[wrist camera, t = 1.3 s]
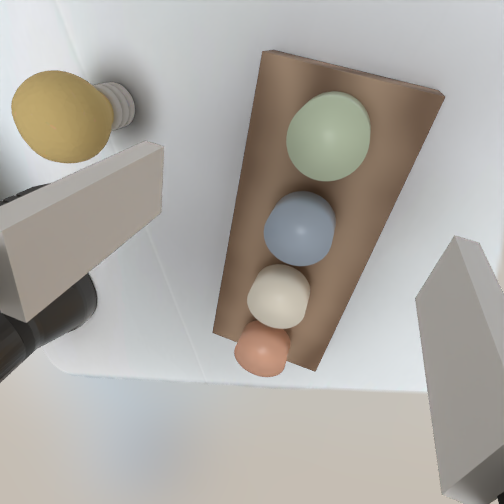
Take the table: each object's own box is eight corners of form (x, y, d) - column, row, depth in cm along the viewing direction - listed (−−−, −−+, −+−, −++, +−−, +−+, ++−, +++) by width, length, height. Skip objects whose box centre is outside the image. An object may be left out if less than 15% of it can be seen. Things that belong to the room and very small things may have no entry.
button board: (222, 315, 42) (212, 332, 39) (273, 49, 26) (262, 51, 23) (319, 351, 40) (315, 371, 37) (438, 90, 24) (445, 96, 21)
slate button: (266, 237, 29) (257, 253, 27) (280, 182, 26) (271, 195, 24) (324, 256, 28) (320, 274, 26) (345, 202, 25) (342, 217, 23)
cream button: (251, 298, 33) (242, 316, 31) (261, 256, 30) (253, 273, 28) (301, 316, 32) (296, 336, 30) (317, 275, 29) (312, 294, 27)
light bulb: (77, 77, 31) (-28, 92, 23) (132, 53, 29) (35, 60, 21) (110, 146, 34) (27, 182, 26) (163, 130, 32) (88, 163, 23)
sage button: (286, 157, 25) (278, 168, 23) (305, 82, 22) (298, 87, 20) (354, 177, 24) (352, 190, 22) (383, 102, 21) (383, 109, 19)
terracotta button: (239, 346, 37) (230, 365, 35) (247, 313, 34) (238, 331, 32) (283, 363, 36) (278, 383, 34) (296, 331, 33) (290, 351, 31)
